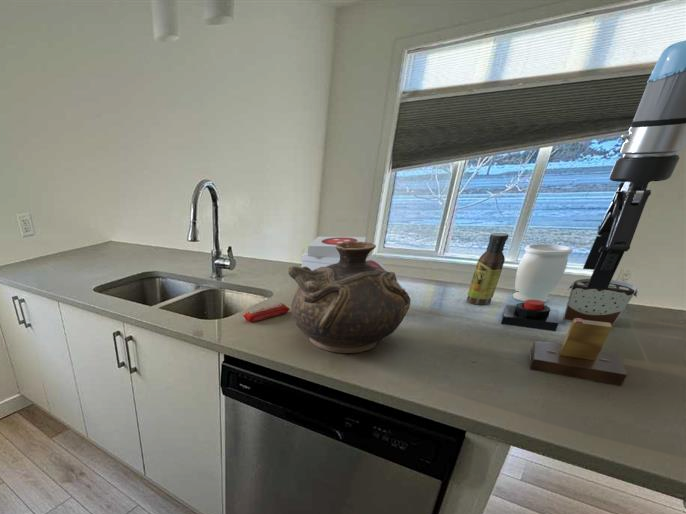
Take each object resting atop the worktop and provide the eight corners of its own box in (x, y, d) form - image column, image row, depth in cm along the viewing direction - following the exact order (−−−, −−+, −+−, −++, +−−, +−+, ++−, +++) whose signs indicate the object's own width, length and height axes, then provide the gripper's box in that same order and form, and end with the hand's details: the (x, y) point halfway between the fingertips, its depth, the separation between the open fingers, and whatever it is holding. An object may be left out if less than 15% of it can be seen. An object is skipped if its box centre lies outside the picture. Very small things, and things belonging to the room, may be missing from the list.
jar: (501, 293, 126) (517, 244, 119) (539, 292, 124) (558, 242, 117) (519, 304, 117) (537, 252, 110) (560, 304, 115) (582, 250, 108)
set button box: (554, 318, 108) (560, 303, 106) (555, 331, 101) (561, 316, 99) (503, 312, 114) (508, 298, 112) (500, 324, 107) (505, 309, 105)
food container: (620, 320, 104) (639, 281, 99) (620, 328, 100) (640, 288, 95) (556, 311, 111) (571, 275, 106) (555, 319, 107) (570, 282, 102)
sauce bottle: (462, 299, 125) (481, 231, 115) (485, 299, 123) (507, 230, 113) (470, 306, 120) (491, 236, 110) (494, 306, 118) (518, 235, 108)
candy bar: (248, 324, 122) (248, 315, 120) (241, 320, 124) (241, 311, 123) (291, 313, 127) (291, 304, 125) (283, 309, 130) (284, 300, 128)
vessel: (265, 342, 109) (272, 246, 98) (326, 319, 124) (338, 233, 112) (359, 374, 90) (380, 259, 78) (418, 342, 104) (443, 241, 93)
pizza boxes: (377, 317, 118) (388, 255, 109) (290, 298, 138) (294, 244, 129) (406, 300, 128) (418, 241, 119) (321, 284, 149) (326, 233, 140)
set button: (542, 307, 106) (545, 300, 105) (542, 311, 103) (545, 305, 102) (523, 304, 108) (525, 298, 107) (522, 309, 106) (525, 303, 105)
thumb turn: (594, 356, 84) (611, 321, 81) (595, 360, 83) (612, 325, 79) (559, 350, 88) (574, 317, 84) (560, 355, 86) (574, 321, 82)
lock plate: (614, 363, 86) (620, 351, 85) (621, 385, 79) (627, 374, 78) (530, 350, 94) (535, 339, 93) (529, 369, 87) (534, 358, 85)
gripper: (610, 152, 79) (567, 261, 90) (626, 161, 63) (571, 293, 73) (667, 149, 75) (614, 264, 86) (700, 158, 59) (629, 299, 69)
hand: (594, 278), depth 79 cm, fingers open, 13 cm apart
